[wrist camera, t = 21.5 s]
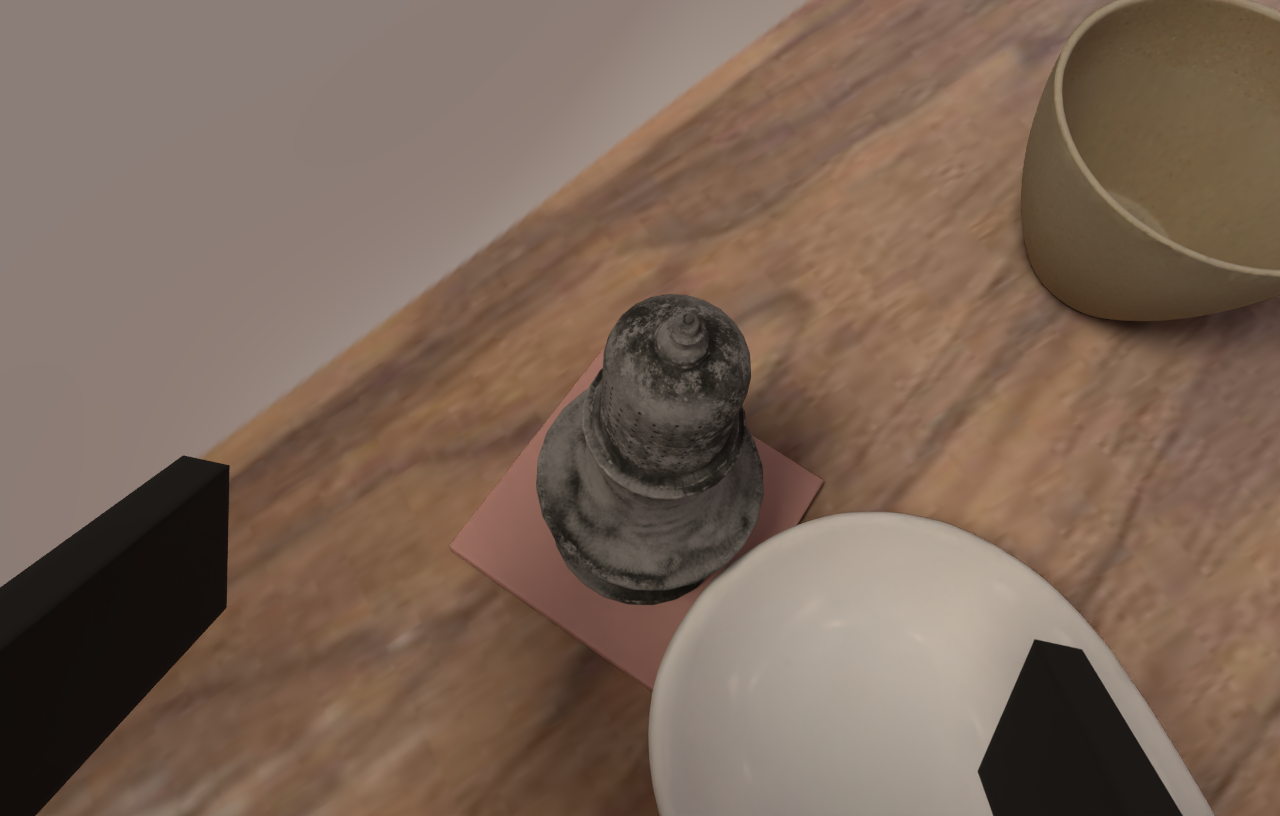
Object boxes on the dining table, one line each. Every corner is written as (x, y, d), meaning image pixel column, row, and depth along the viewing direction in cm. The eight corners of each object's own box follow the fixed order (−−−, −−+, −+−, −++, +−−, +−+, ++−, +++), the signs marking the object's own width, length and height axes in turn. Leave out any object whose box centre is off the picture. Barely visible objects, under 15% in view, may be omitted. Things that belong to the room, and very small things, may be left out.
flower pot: (906, 186, 32) (990, 32, 26) (1132, 117, 34) (1264, -44, 28) (1052, 428, 29) (1193, 321, 22) (1294, 334, 31) (1489, 211, 24)
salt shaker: (620, 659, 25) (655, 553, 14) (501, 492, 26) (446, 278, 15) (781, 536, 26) (930, 354, 15) (660, 387, 28) (715, 124, 17)
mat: (450, 550, 26) (447, 546, 25) (606, 350, 29) (606, 343, 28) (681, 712, 25) (682, 711, 24) (820, 485, 28) (824, 480, 27)
